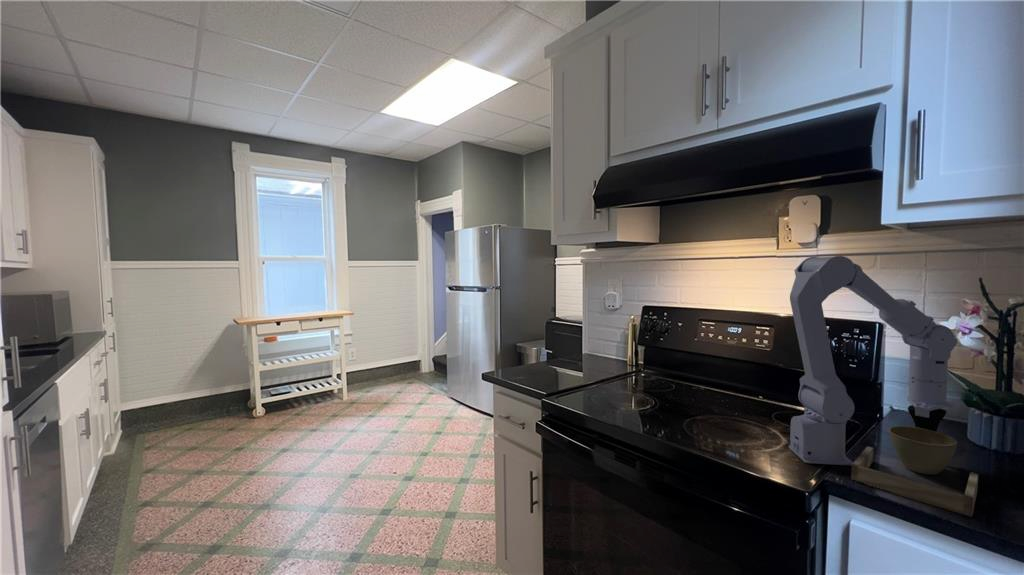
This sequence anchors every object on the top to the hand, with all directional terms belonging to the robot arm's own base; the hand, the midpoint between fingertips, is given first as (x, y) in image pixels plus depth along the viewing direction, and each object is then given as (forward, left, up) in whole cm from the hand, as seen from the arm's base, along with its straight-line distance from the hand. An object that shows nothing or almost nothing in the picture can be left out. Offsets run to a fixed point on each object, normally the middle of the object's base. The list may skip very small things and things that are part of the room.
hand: (926, 441), depth 90 cm
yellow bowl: (-4, -5, -4) cm, 8 cm away
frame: (-10, -11, -4) cm, 16 cm away
